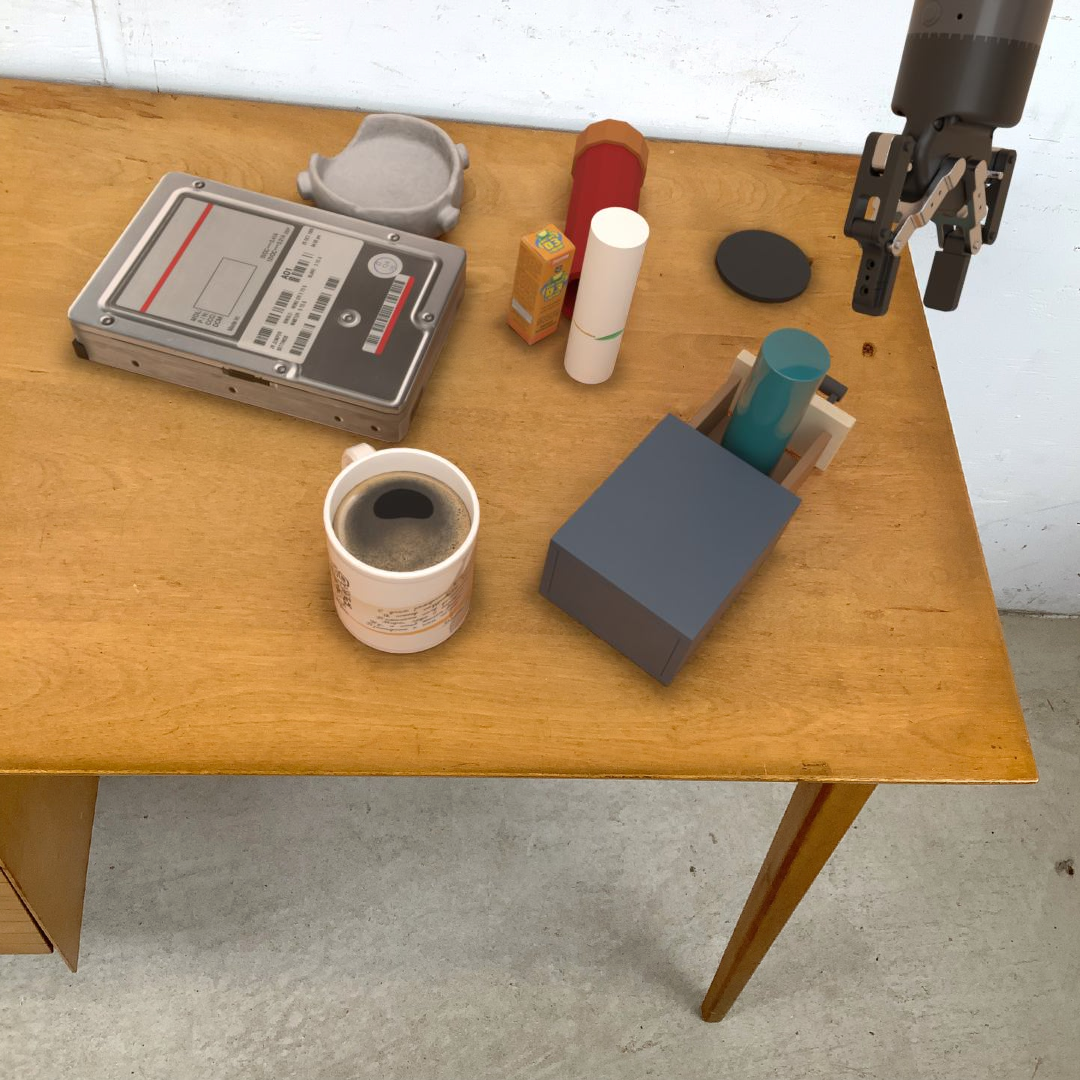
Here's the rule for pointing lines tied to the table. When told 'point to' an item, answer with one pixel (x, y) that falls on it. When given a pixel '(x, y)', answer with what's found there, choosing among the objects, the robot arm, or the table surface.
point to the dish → (392, 176)
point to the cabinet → (665, 546)
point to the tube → (605, 293)
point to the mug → (401, 546)
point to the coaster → (763, 266)
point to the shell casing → (601, 186)
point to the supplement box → (540, 283)
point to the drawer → (812, 437)
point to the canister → (775, 397)
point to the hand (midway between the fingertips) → (904, 311)
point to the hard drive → (273, 305)
